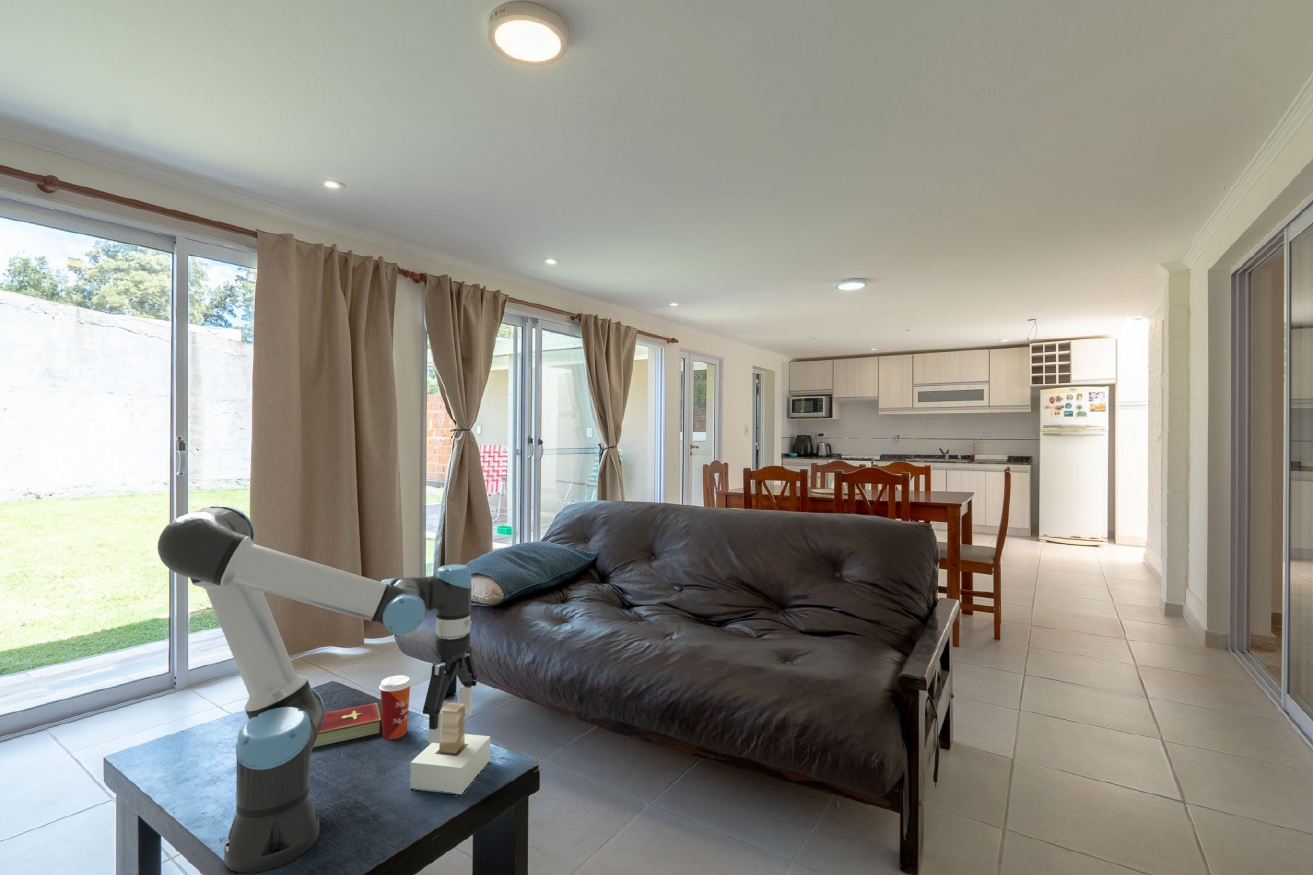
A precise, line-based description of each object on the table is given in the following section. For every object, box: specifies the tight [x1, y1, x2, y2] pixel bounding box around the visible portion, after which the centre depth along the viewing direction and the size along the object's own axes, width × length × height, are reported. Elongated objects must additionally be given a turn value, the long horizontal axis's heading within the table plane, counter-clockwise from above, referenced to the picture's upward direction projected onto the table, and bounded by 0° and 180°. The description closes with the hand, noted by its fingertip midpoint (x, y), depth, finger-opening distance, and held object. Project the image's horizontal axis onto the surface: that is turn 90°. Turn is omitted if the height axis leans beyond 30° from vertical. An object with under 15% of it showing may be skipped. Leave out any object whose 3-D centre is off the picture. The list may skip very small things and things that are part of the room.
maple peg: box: [439, 702, 466, 756], centre depth 137 cm, size 4×4×14 cm
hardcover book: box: [313, 702, 382, 748], centre depth 157 cm, size 12×21×4 cm, turn 120°
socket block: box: [409, 733, 491, 794], centre depth 137 cm, size 14×12×6 cm
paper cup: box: [379, 674, 412, 740], centre depth 156 cm, size 8×8×14 cm
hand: (451, 727), depth 137 cm, fingers open, 13 cm apart
